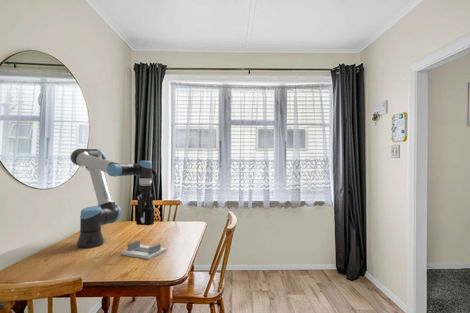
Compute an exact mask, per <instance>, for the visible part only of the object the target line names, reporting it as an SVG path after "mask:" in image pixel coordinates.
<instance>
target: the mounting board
mask: <svg viewBox="0 0 470 313" xmlns="http://www.w3.org/2000/svg"><path fill="white" fill-rule="evenodd" d="M165 252H167V247H166V248H164V247H161V243H156V244H153V245H151V246H150V245H145V244H141V240H136V241H132V242H129V243H128V244H127V249H125V250H122V251H121V252H120V255H123V256H128V257H134V258H141V259H147V260H151V259H154V258H155V257H157V256H160V255H161V254H163V253H165Z"/></svg>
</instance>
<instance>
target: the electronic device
mask: <svg viewBox="0 0 470 313" xmlns="http://www.w3.org/2000/svg"><path fill="white" fill-rule="evenodd" d="M144 212H145V220H144V223H142V222H141V218H140V212H138V208H136V219H135V221H136V222H135V223H136V225H137V226H153V225H154V223H155V209H154V208H152V209H149V208H146V207H145V208H144Z"/></svg>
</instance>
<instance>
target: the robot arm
mask: <svg viewBox="0 0 470 313" xmlns="http://www.w3.org/2000/svg"><path fill="white" fill-rule="evenodd" d="M70 161H71V163H72V164H73V165H75V166H78V167H85V169H86V171H88V172H89V175H90V178H91V182H92V186H93V189H94V193H95V196H96V201H97V205H93V206H87V207H85V208H82V209H81V211H80V215H79V220H80V222H79V223H80V224H79V226H80V227H79V228H80V230H79V235H78V238H77V239H78V240H77V242H76V247H77V248H80V249H88V248H89V249H90V248H95V247H99V246H102V245H103V244H104V243H105V241H104V237H103V234H102V226H105V225H108V224H113V223H117V222H118V221H119V220H120V219H121V216H122V208H121V207H120V205H118V204H116V202H115V200H113V199H112V197H111V194H110V189H109V186H108V183H107V179H106V175H105V173H106V174H108V176H110V177H126V176H139V177H138V178H139V179H138V180H139V182H138V188H139V189H138V191H139V192H140V193H139V195H137V196H136V199H137V200H136V201H137V209H138V212H140V218H141V222H142V223H144V220H145V212H144V208H149V209H153V199H154V194H153V193H151V192H152V191H153V190H152V188H153V187H152V184H153V182H152V177H153V176H152V175H153V174H152V173H153V164H152V161H151V160H140V161H139V163H118V162H114V161H111V160H107V157H106V154H105V152H104V151H103V150H101V149H97V148H77V149H75V150H73V151H72V152H71V153H70Z"/></svg>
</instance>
